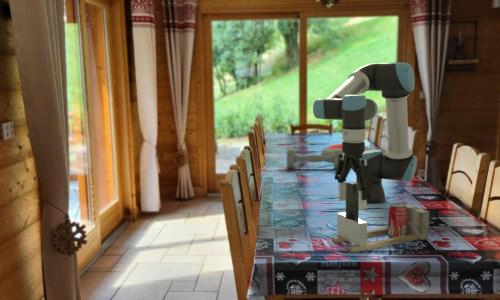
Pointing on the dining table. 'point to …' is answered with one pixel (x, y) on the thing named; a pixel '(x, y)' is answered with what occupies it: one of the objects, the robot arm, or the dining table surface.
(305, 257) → the dining table surface
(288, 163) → the dumbbell
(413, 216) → the base
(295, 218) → the dining table surface
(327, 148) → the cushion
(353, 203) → the vice jaw
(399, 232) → the soda can
